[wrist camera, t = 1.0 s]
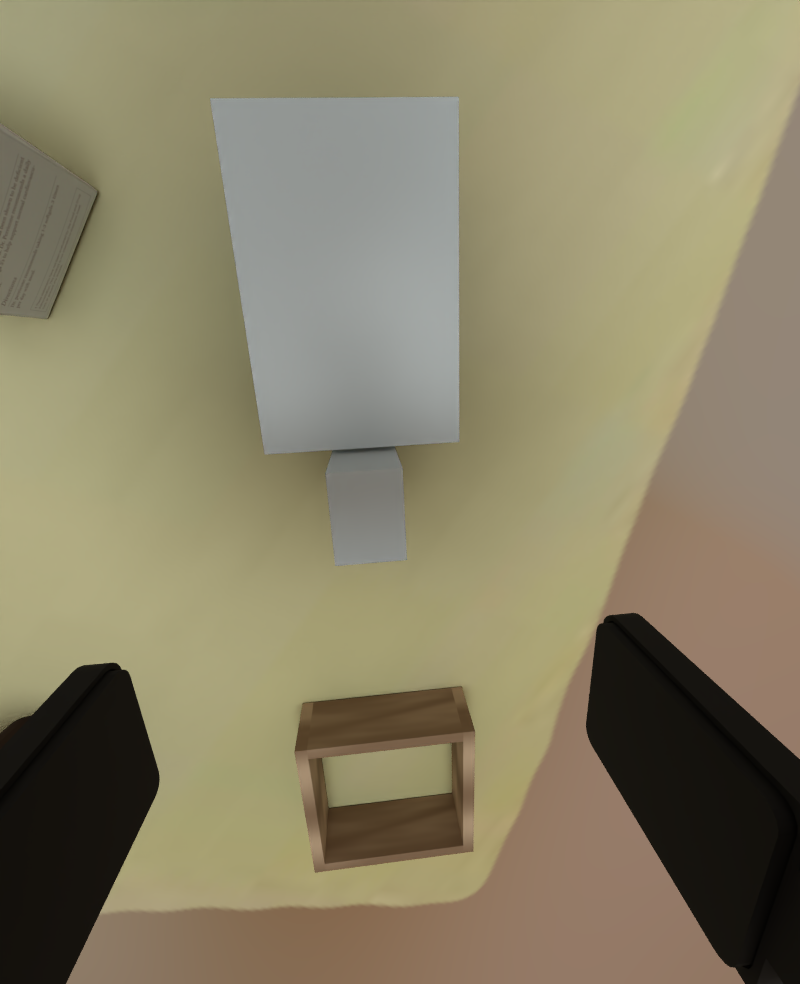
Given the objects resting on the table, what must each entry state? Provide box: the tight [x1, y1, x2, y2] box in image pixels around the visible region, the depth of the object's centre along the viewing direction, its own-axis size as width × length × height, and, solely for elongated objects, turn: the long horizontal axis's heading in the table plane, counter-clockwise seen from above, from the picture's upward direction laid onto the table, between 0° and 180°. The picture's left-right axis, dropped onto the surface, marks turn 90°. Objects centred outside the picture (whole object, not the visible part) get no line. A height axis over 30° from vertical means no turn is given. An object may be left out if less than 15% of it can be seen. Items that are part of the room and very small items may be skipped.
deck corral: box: [295, 687, 475, 872], centre depth 31 cm, size 12×12×4 cm
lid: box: [210, 97, 459, 566], centre depth 17 cm, size 17×9×4 cm, turn 3°
